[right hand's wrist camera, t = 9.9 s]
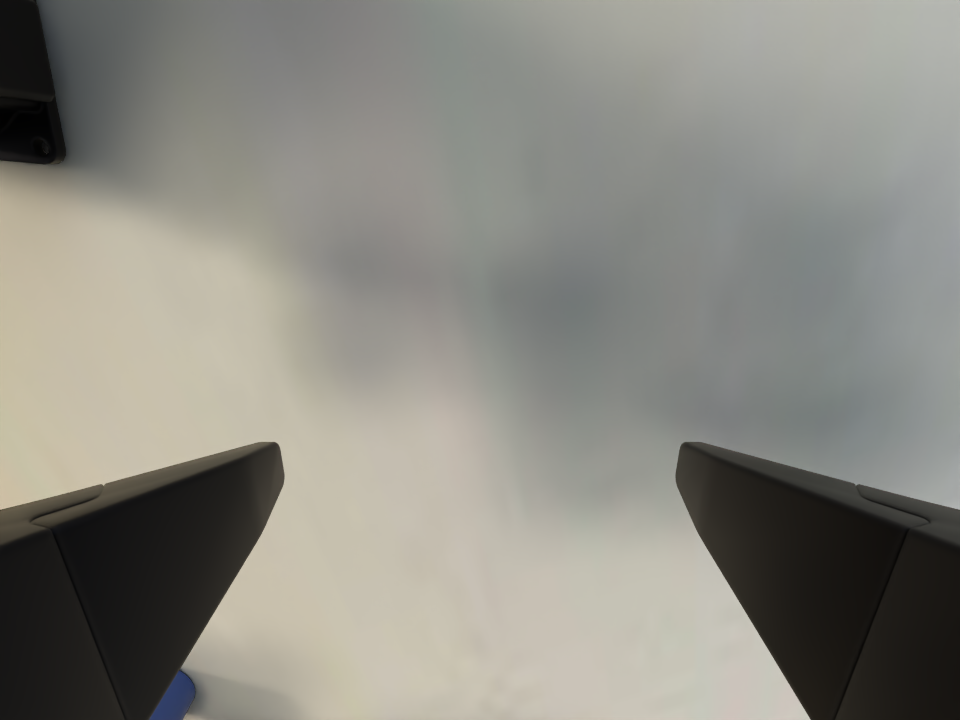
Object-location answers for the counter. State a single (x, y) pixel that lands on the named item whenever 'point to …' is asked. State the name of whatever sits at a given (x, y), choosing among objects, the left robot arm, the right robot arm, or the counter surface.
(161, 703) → the canister
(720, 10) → the counter surface
